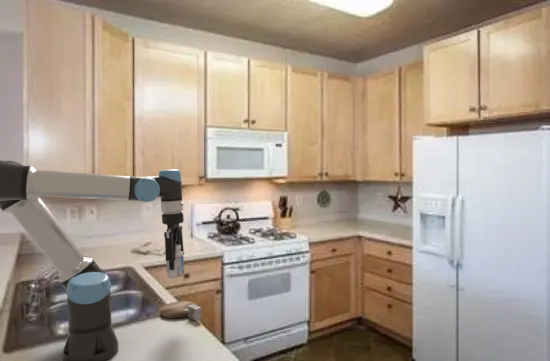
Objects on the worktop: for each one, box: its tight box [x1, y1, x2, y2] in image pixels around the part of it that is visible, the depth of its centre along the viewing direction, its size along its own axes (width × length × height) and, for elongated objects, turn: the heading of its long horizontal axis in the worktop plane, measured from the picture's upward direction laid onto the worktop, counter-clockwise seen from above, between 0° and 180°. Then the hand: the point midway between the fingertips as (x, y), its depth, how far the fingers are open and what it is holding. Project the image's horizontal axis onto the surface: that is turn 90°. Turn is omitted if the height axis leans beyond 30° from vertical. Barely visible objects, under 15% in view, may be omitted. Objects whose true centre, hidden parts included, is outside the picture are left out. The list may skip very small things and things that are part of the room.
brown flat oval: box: [159, 300, 202, 321], centre depth 145 cm, size 20×14×4 cm
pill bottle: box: [166, 244, 186, 279], centre depth 138 cm, size 6×6×11 cm
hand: (176, 275), depth 138 cm, fingers closed on pill bottle, 6 cm apart
